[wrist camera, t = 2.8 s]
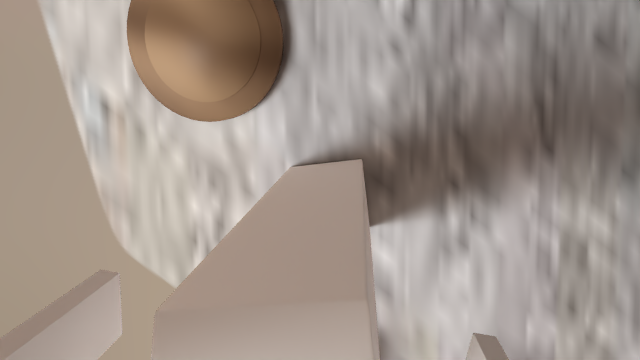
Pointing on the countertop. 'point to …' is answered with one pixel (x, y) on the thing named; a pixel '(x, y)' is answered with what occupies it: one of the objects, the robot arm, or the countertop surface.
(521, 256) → the countertop surface
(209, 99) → the disc
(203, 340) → the milk
